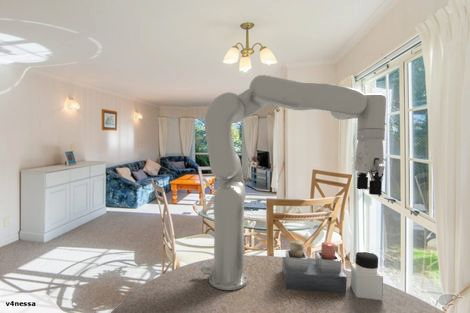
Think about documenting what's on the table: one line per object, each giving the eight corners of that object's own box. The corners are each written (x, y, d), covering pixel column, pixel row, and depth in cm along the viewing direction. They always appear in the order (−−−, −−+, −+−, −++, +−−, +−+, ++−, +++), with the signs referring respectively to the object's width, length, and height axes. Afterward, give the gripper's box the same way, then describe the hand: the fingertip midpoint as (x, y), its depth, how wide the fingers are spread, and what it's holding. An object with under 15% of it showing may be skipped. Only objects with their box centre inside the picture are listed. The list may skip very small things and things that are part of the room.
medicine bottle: (382, 301, 75) (384, 259, 75) (355, 297, 77) (357, 257, 76) (374, 287, 82) (375, 250, 82) (350, 285, 84) (351, 248, 83)
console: (285, 289, 81) (285, 261, 80) (282, 270, 93) (282, 246, 92) (346, 293, 79) (346, 264, 79) (335, 273, 91) (335, 249, 91)
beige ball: (290, 257, 84) (291, 244, 84) (289, 252, 88) (289, 240, 88) (304, 257, 84) (304, 245, 84) (302, 252, 88) (302, 240, 88)
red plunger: (322, 258, 83) (323, 246, 83) (320, 253, 87) (320, 241, 87) (336, 259, 83) (337, 247, 83) (333, 254, 87) (333, 242, 87)
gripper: (348, 136, 89) (346, 187, 89) (369, 134, 72) (366, 196, 72) (371, 136, 88) (369, 187, 89) (398, 134, 71) (395, 197, 72)
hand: (368, 191), depth 80 cm, fingers open, 9 cm apart
